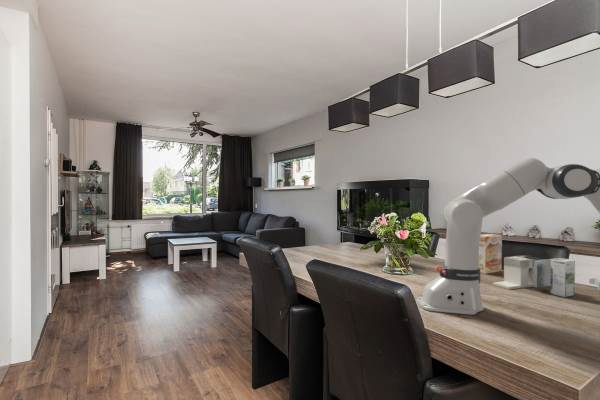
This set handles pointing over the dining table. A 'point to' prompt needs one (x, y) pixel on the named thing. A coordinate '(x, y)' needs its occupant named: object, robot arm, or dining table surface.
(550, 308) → the dining table surface
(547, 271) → the gray boxy block
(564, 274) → the syrup box
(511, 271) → the test stand
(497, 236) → the coffeecake box
